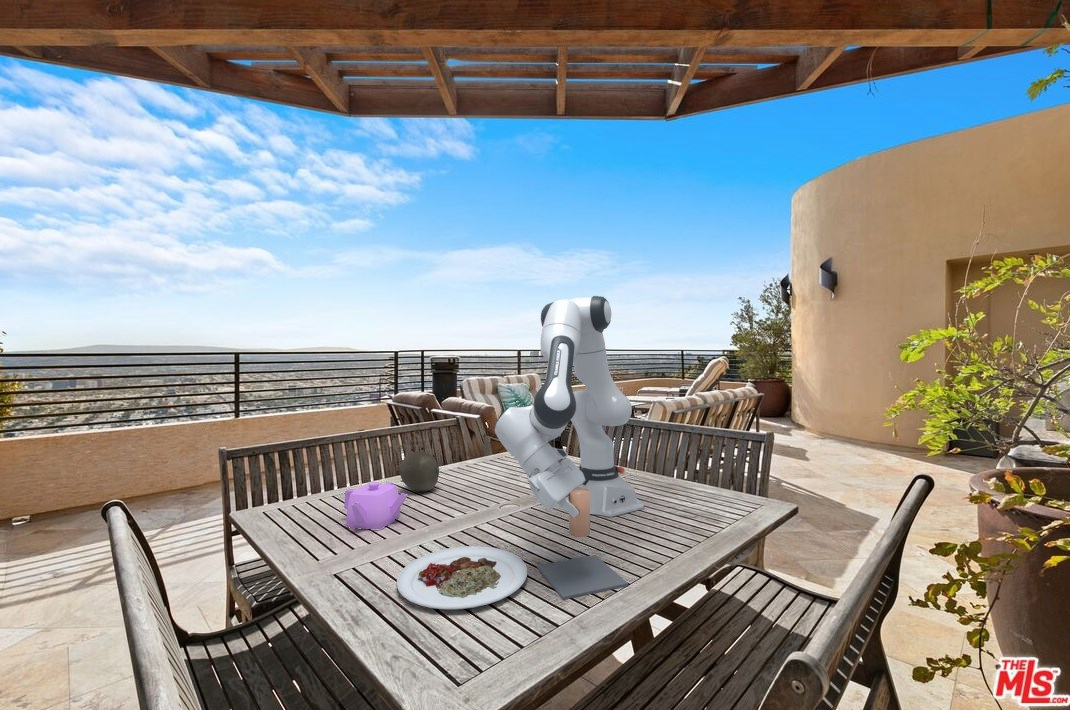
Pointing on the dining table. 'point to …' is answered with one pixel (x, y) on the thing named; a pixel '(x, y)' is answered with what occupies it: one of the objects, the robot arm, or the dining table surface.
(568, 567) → the mat
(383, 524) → the teakettle
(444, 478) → the dining table surface
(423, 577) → the plated food
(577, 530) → the tan rounded cylinder
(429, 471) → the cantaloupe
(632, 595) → the dining table surface
